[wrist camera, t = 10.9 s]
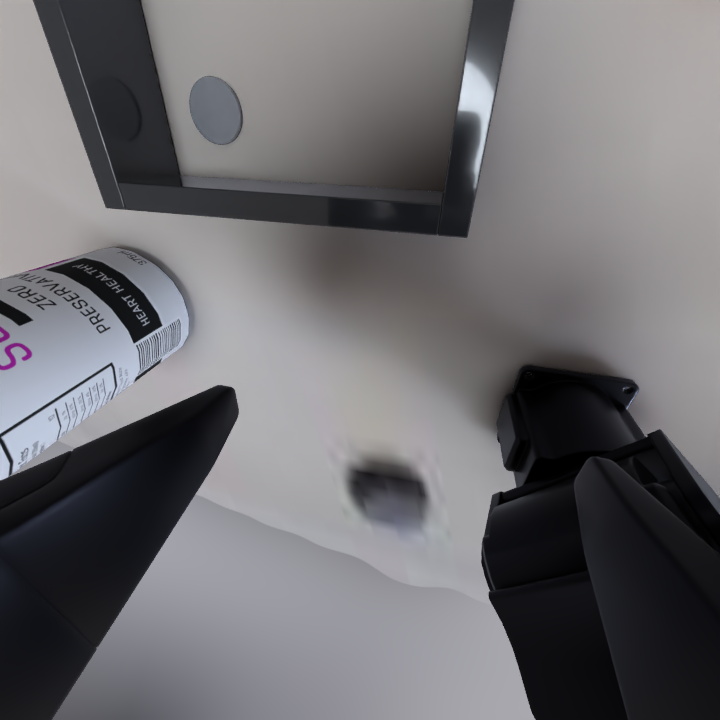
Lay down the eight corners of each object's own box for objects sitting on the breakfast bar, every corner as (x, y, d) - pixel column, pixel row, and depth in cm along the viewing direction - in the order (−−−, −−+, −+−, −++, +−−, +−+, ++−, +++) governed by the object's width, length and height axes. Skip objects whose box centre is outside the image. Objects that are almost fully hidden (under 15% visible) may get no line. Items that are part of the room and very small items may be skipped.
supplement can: (121, 344, 28) (-137, 501, 16) (73, 242, 24) (-338, 349, 11) (207, 353, 26) (-5, 536, 14) (173, 245, 22) (-180, 375, 10)
